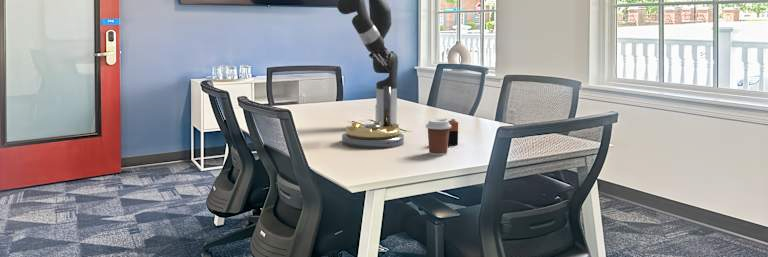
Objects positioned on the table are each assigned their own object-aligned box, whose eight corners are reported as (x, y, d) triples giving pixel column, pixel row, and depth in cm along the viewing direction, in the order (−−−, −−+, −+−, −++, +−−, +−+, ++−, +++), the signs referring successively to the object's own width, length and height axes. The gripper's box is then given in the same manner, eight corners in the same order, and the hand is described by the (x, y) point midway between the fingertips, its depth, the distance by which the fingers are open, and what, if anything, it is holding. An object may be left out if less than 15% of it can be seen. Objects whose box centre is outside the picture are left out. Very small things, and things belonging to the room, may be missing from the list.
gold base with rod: (361, 128, 263) (361, 85, 260) (408, 132, 254) (408, 87, 251) (335, 136, 244) (335, 89, 242) (385, 141, 235) (385, 92, 233)
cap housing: (331, 141, 253) (331, 133, 253) (382, 135, 266) (382, 128, 266) (362, 151, 233) (362, 143, 233) (415, 144, 246) (415, 137, 246)
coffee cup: (449, 151, 234) (449, 118, 232) (452, 156, 225) (453, 122, 223) (424, 151, 234) (424, 118, 232) (426, 156, 225) (427, 122, 223)
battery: (438, 143, 249) (438, 118, 247) (455, 143, 250) (455, 118, 248) (440, 145, 245) (441, 119, 243) (458, 145, 245) (458, 119, 244)
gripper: (387, 31, 250) (407, 64, 259) (365, 31, 260) (384, 64, 269) (377, 43, 247) (397, 77, 256) (354, 43, 256) (374, 76, 265)
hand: (390, 70), depth 262 cm, fingers closed
